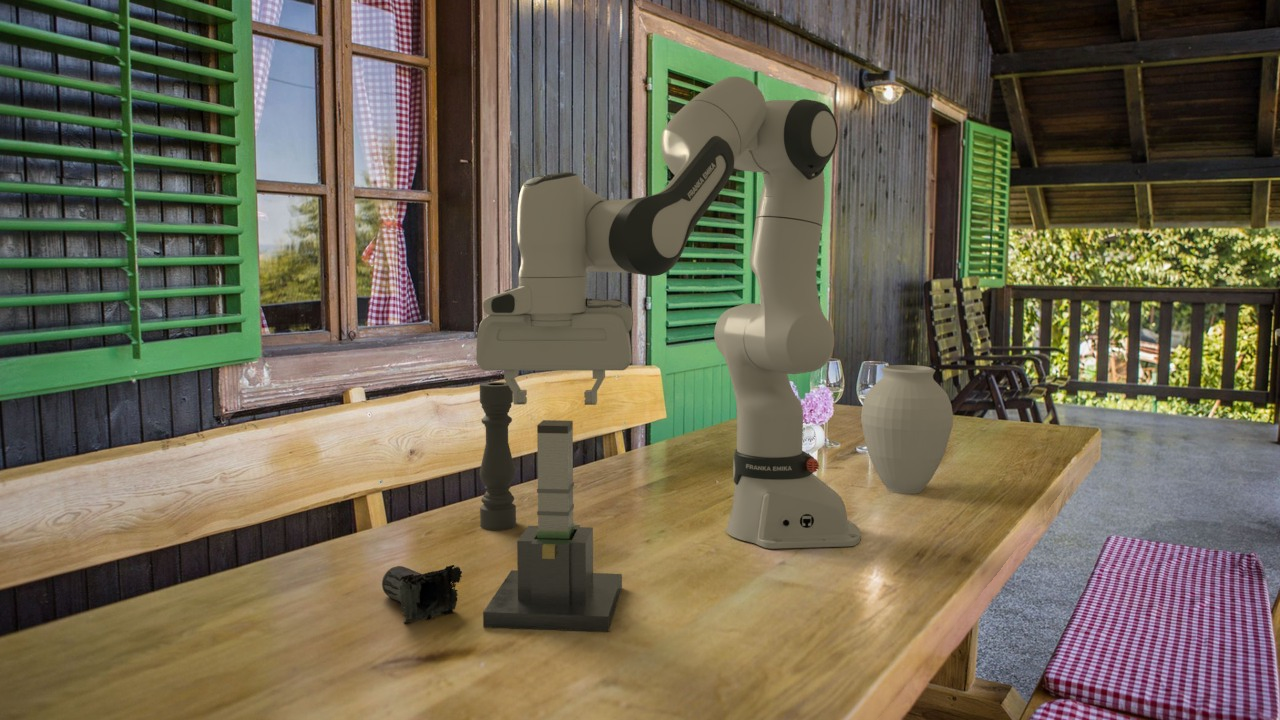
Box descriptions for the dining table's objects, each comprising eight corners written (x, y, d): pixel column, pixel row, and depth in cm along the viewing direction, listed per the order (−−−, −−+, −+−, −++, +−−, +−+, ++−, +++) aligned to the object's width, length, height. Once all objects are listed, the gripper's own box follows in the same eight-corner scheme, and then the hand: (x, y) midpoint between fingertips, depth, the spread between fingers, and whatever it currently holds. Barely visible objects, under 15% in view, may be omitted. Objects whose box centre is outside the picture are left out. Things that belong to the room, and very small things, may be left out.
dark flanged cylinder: (457, 623, 124) (414, 603, 133) (464, 565, 125) (420, 548, 134) (395, 628, 118) (354, 606, 127) (403, 567, 119) (361, 549, 128)
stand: (621, 587, 134) (621, 519, 133) (608, 631, 118) (608, 554, 117) (511, 583, 135) (510, 516, 134) (483, 627, 119) (482, 550, 118)
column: (574, 543, 128) (573, 420, 126) (569, 553, 123) (568, 426, 121) (543, 542, 128) (542, 419, 126) (537, 552, 124) (535, 425, 122)
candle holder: (509, 531, 161) (507, 387, 158) (475, 529, 162) (472, 386, 159) (520, 521, 167) (519, 382, 164) (487, 519, 168) (485, 381, 166)
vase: (852, 495, 186) (856, 370, 183) (866, 476, 202) (869, 361, 199) (946, 504, 179) (951, 374, 176) (953, 483, 195) (957, 364, 193)
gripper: (634, 297, 124) (636, 400, 126) (483, 298, 126) (486, 400, 128) (630, 299, 118) (631, 408, 119) (470, 301, 120) (474, 407, 121)
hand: (555, 404), depth 124 cm, fingers open, 8 cm apart
